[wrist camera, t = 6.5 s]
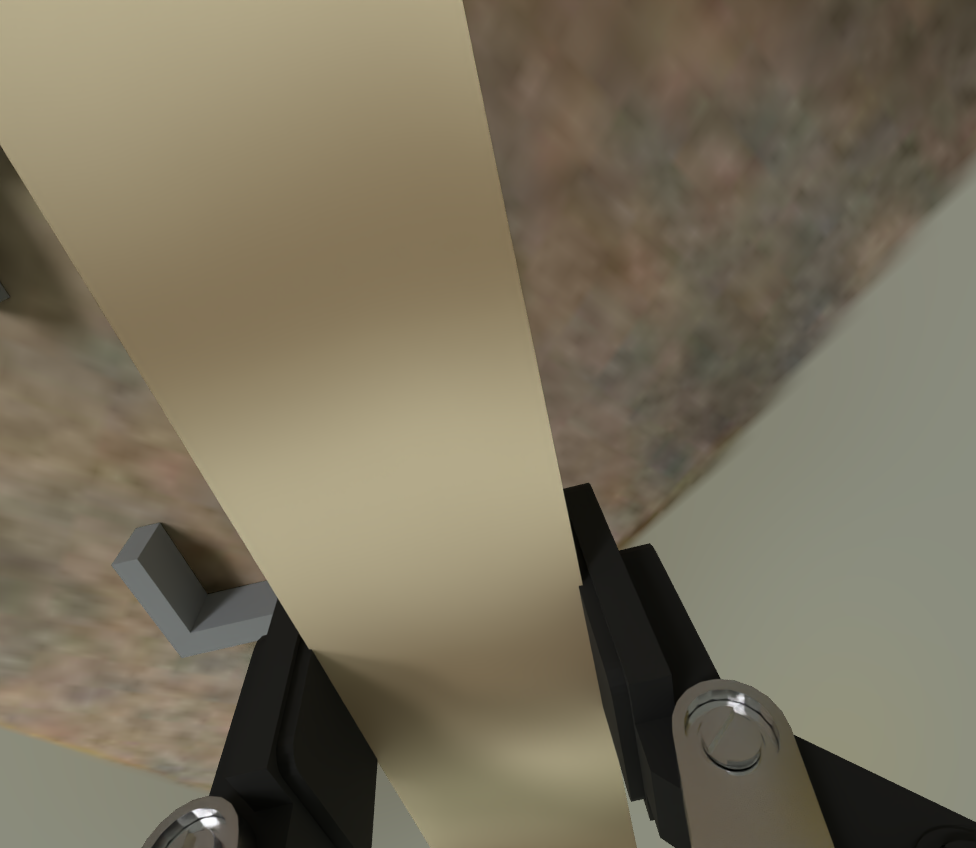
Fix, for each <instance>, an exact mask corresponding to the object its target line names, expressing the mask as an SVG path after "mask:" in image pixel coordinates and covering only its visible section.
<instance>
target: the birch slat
mask: <svg viewBox="0 0 976 848" xmlns="http://www.w3.org/2000/svg"><path fill="white" fill-rule="evenodd" d="M0 145H1V147H2V148H3V150H4V152H5V153H6V155H7V157H8V158H9V160H10V162H11V163H12V165H13V166H14V168H15V170H16V171H17V173H18V175H19V176H20V178H21V180H22V181H23V183H24V184H25V186H26V188H27V189H28V191H29V193H30V194H31V196H32V197H33V199H34V201H35V202H36V204H37V206H38V207H39V209H40V211H41V212H42V214H43V215H44V217H45V219H46V220H47V222H48V224H49V225H50V227H51V229H52V230H53V232H54V233H55V235H56V237H57V238H58V240H59V242H60V243H61V245H62V246H63V248H64V250H65V251H66V253H67V255H68V256H69V258H70V260H71V261H72V263H73V264H74V266H75V268H76V269H77V271H78V273H79V274H80V276H81V278H82V279H83V281H84V282H85V284H86V286H87V287H88V289H89V291H90V292H91V294H92V295H93V297H94V299H95V300H96V302H97V304H98V305H99V307H100V309H101V310H102V312H103V313H104V315H105V317H106V318H107V320H108V322H109V323H110V325H111V327H112V328H113V330H114V331H115V333H116V335H117V336H118V338H119V340H120V341H121V343H122V345H123V346H124V348H125V349H126V351H127V353H128V354H129V356H130V358H131V359H132V361H133V362H134V364H135V366H136V367H137V369H138V371H139V372H140V374H141V376H142V377H143V379H144V380H145V382H146V384H147V385H148V387H149V389H150V390H151V392H152V394H153V395H154V397H155V398H156V400H157V402H158V403H159V405H160V407H161V408H162V410H163V411H164V413H165V415H166V416H167V418H168V420H169V421H170V423H171V425H172V426H173V428H174V429H175V431H176V433H177V434H178V436H179V438H180V439H181V441H182V443H183V444H184V446H185V447H186V449H187V451H188V452H189V454H190V456H191V457H192V459H193V460H194V462H195V464H196V465H197V467H198V469H199V470H200V472H201V474H202V475H203V477H204V478H205V480H206V482H207V483H208V485H209V487H210V488H211V490H212V492H213V493H214V495H215V496H216V498H217V500H218V501H219V503H220V505H221V506H222V508H223V509H224V511H225V513H226V514H227V516H228V518H229V519H230V521H231V523H232V524H233V526H234V527H235V529H236V531H237V532H238V534H239V536H240V537H241V539H242V541H243V542H244V544H245V545H246V547H247V549H248V550H249V552H250V554H251V555H252V557H253V558H254V560H255V562H256V563H257V565H258V567H259V568H260V570H261V572H262V573H263V575H264V576H265V578H266V580H267V581H268V583H269V585H270V586H271V588H272V590H273V591H274V593H275V594H276V596H277V598H278V599H279V601H280V603H281V604H282V606H283V607H284V609H285V611H286V612H287V614H288V616H289V617H290V619H291V621H292V622H293V624H294V625H295V627H296V629H297V630H298V632H299V634H300V635H301V637H302V639H303V640H304V642H305V643H306V645H307V647H308V648H309V650H310V649H312V650H313V652H314V654H315V655H316V657H317V659H318V660H319V662H320V664H321V665H322V667H323V669H324V670H325V672H326V674H327V675H328V677H329V679H330V680H331V682H332V684H333V685H334V687H335V689H336V691H337V692H338V694H339V696H340V697H341V699H342V701H343V702H344V704H345V706H346V707H347V709H348V711H349V712H350V714H351V716H352V717H353V719H354V721H355V722H356V724H357V726H358V727H359V729H360V731H361V732H362V734H363V736H364V737H365V739H366V741H367V742H368V744H369V746H370V747H371V749H372V751H373V752H374V754H375V756H376V757H377V759H378V760H377V761H378V763H379V764H380V766H381V768H382V769H383V771H384V772H385V774H386V776H387V777H388V779H389V781H390V782H391V784H392V785H393V787H394V789H395V790H396V792H397V794H398V795H399V797H400V799H401V800H402V802H403V803H404V805H405V807H406V808H407V810H408V812H409V813H410V815H411V816H412V818H413V820H414V821H415V823H416V825H417V826H418V828H419V829H420V831H421V833H422V835H423V836H424V838H425V839H426V841H427V843H428V844H429V846H430V848H637V847H636V842H635V837H634V832H633V827H632V822H631V818H630V813H629V808H628V803H627V798H626V793H625V788H624V783H623V779H622V774H621V769H620V764H619V760H618V757H617V753H616V750H615V747H614V743H613V740H612V736H611V733H610V730H609V726H608V723H607V719H606V716H605V712H604V709H603V705H602V700H601V695H600V690H599V685H598V680H597V675H596V670H595V665H594V660H593V655H592V651H591V646H590V641H589V636H588V631H587V626H586V621H585V616H584V611H583V606H582V601H581V596H580V591H579V586H580V585H583V584H582V579H581V575H580V570H579V565H578V560H577V555H576V550H575V545H574V541H573V536H572V531H571V526H570V521H569V516H568V511H567V507H566V502H565V497H564V492H563V487H562V482H561V477H560V473H559V468H558V463H557V458H556V453H555V448H554V443H553V439H552V434H551V429H550V424H549V419H548V414H547V409H546V405H545V400H544V395H543V390H542V385H541V380H540V375H539V371H538V366H537V361H536V356H535V351H534V346H533V341H532V337H531V332H530V327H529V322H528V317H527V312H526V307H525V303H524V298H523V293H522V288H521V283H520V278H519V273H518V269H517V264H516V259H515V254H514V249H513V244H512V239H511V235H510V230H509V225H508V220H507V215H506V210H505V205H504V201H503V196H502V191H501V186H500V181H499V176H498V171H497V167H496V162H495V157H494V152H493V147H492V142H491V137H490V133H489V128H488V123H487V118H486V113H485V108H484V103H483V99H482V94H481V89H480V84H479V79H478V74H477V69H476V65H475V60H474V55H473V50H472V45H471V40H470V35H469V31H468V26H467V21H466V16H465V11H464V6H463V1H462V0H0Z"/></svg>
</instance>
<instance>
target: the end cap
mask: <svg viewBox="0 0 976 848" xmlns="http://www.w3.org/2000/svg"><path fill="white" fill-rule="evenodd" d="M112 567H113V568H114V569H115V571H116V572H117V573H118V575H119V576H120V577H121V579H122V580H123V581H124V583H125V584H126V585H127V587H128V588H129V589H130V591H131V592H132V593H133V594H134V596H135V597H136V598H137V600H138V601H139V602H140V604H141V605H142V606H143V608H144V609H145V610H146V612H147V613H148V614H149V616H150V617H151V618H152V619H153V621H154V622H155V623H156V625H157V626H158V627H159V629H160V630H161V631H162V633H163V634H164V635H165V637H166V638H167V639H168V641H169V642H170V643H171V644H172V646H173V647H174V648H175V650H176V651H177V652H178V654H179V655H180V656H181V658H184V657H188V656H192V655H197V654H201V653H205V652H210V651H214V650H219V649H223V648H227V647H232V646H236V645H240V644H245V643H249V642H254V641H258V640H259V639H260V638H261V637H262V636H264V635H267V633H268V629H269V626H270V622H271V619H272V615H273V612H274V608H275V605H276V602H277V596H276V594H275V593H274V591H273V590H272V588H271V586H270V585H269V583H268V581H263V582H259V583H255V584H250V585H246V586H242V587H237V588H233V589H229V590H224V591H220V592H216V593H211V594H207V593H206V591H205V590H204V588H203V587H202V585H201V584H200V582H199V581H198V579H197V578H196V576H195V575H194V573H193V572H192V570H191V569H190V567H189V566H188V564H187V563H186V561H185V560H184V558H183V557H182V555H181V554H180V552H179V551H178V549H177V548H176V546H175V545H174V543H173V542H172V540H171V539H170V537H169V536H168V534H167V533H166V531H165V530H164V528H163V527H162V525H161V524H160V523H156V524H152V525H148V526H144V527H139V528H136V529H135V530H134V532H133V533H132V535H131V536H130V538H129V539H128V541H127V542H126V544H125V545H124V547H123V548H122V550H121V551H120V553H119V554H118V556H117V557H116V559H115V560H114V562H113V563H112Z"/></svg>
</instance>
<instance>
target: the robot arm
mask: <svg viewBox="0 0 976 848" xmlns="http://www.w3.org/2000/svg"><path fill="white" fill-rule="evenodd" d="M563 492H564V497H565V502H566V507H567V511H568V516H569V521H570V526H571V531H572V536H573V541H574V545H575V550H576V555H577V560H578V565H579V570H580V575H581V579H582V584H583V585H580V586H579V591H580V596H581V601H582V606H583V611H584V616H585V621H586V626H587V631H588V636H589V641H590V646H591V651H592V655H593V660H594V665H595V670H596V675H597V680H598V685H599V690H600V695H601V700H602V705H603V709H604V712H605V716H606V719H607V723H608V726H609V730H610V733H611V736H612V740H613V743H614V747H615V750H616V753H617V757H618V760H619V764H620V767H621V770H622V774H623V777H624V781H625V784H626V788H627V791H628V794H629V797H630V800H631V802H632V801H636V800H640V799H644V802H645V805H646V808H647V811H648V814H649V818H650V820H655V823H656V825H657V829H658V832H659V835H660V838H662V839H663V840H665V841H666V842H668V843H669V844H671V845H672V846H674V847H675V848H976V822H974V821H972V820H970V819H968V818H966V817H964V816H962V815H960V814H958V813H956V812H953V811H951V810H949V809H947V808H945V807H943V806H941V805H939V804H937V803H935V802H933V801H931V800H928V799H926V798H924V797H922V796H920V795H918V794H916V793H914V792H912V791H910V790H908V789H906V788H903V787H901V786H899V785H897V784H895V783H893V782H891V781H889V780H887V779H885V778H883V777H881V776H878V775H876V774H874V773H872V772H870V771H868V770H866V769H864V768H862V767H860V766H858V765H856V764H854V763H851V762H849V761H847V760H845V759H843V758H841V757H839V756H837V755H835V754H833V753H831V752H829V751H827V750H824V749H822V748H820V747H818V746H816V745H814V744H812V743H810V742H808V741H806V740H804V739H801V738H799V737H797V736H795V735H793V732H792V729H791V727H790V725H789V723H788V722H787V720H786V718H785V716H784V714H783V712H782V711H781V710H780V709H779V708H778V707H777V706H776V704H775V703H774V702H773V701H772V700H771V699H770V698H769V697H768V696H766V695H765V694H763V693H761V692H759V691H758V690H757V689H755V688H754V687H752V686H749V685H746V684H743V683H740V682H737V681H735V680H723V679H720V677H719V675H718V673H717V671H716V669H715V667H714V665H713V663H712V661H711V659H710V657H709V655H708V653H707V651H706V649H705V647H704V645H703V643H702V641H701V639H700V637H699V635H698V634H697V631H696V629H695V628H694V626H693V624H692V622H691V620H690V618H689V616H688V614H687V612H686V610H685V608H684V606H683V604H682V602H681V600H680V598H679V596H678V594H677V592H676V590H675V588H674V586H673V584H672V582H671V580H670V578H669V576H668V574H667V572H666V570H665V568H664V567H663V565H662V563H661V561H660V559H659V557H658V555H657V553H656V551H655V550H654V548H653V546H652V545H651V544H650V543H649V544H645V545H641V546H637V547H632V548H628V549H624V550H620V551H619V550H618V548H617V546H616V543H615V541H614V539H613V536H612V534H611V532H610V529H609V527H608V524H607V522H606V520H605V517H604V515H603V513H602V510H601V508H600V506H599V503H598V501H597V499H596V496H595V494H594V492H593V489H592V487H591V485H590V484H589V483H586V484H582V485H577V486H573V487H569V488H565V489H563ZM377 760H378V759H377V757H376V756H375V754H374V752H373V751H372V749H371V747H370V746H369V744H368V742H367V741H366V739H365V737H364V736H363V734H362V732H361V731H360V729H359V727H358V726H357V724H356V722H355V721H354V719H353V717H352V716H351V714H350V712H349V711H348V709H347V707H346V706H345V704H344V702H343V701H342V699H341V697H340V696H339V694H338V692H337V691H336V689H335V687H334V685H333V684H332V682H331V680H330V679H329V677H328V675H327V674H326V672H325V670H324V669H323V667H322V665H321V664H320V662H319V660H318V659H317V657H316V655H315V654H314V652H313V650H312V649H310V650H309V648H308V647H307V645H306V643H305V642H304V640H303V639H302V637H301V635H300V634H299V632H298V630H297V629H296V627H295V625H294V624H293V622H292V621H291V619H290V617H289V616H288V614H287V612H286V611H285V609H284V607H283V606H282V604H281V603H280V601H279V599H278V598H277V602H276V605H275V608H274V612H273V615H272V619H271V622H270V626H269V629H268V633H267V635H264V636H262V637H261V638H260V639H259V640H258V641H257V643H256V646H255V648H254V651H253V654H252V657H251V660H250V664H249V667H248V670H247V674H246V677H245V680H244V683H243V687H242V690H241V693H240V696H239V700H238V703H237V706H236V709H235V713H234V716H233V719H232V723H231V726H230V729H229V732H228V736H227V739H226V742H225V745H224V749H223V752H222V755H221V758H220V762H219V765H218V768H217V772H216V775H215V778H214V781H213V785H212V788H211V791H210V794H209V796H206V797H202V798H198V799H195V800H192V801H190V802H188V803H187V804H185V805H183V806H181V807H179V808H178V809H176V810H175V811H174V812H173V813H171V814H170V815H169V816H168V817H167V818H166V819H164V820H163V821H162V822H161V823H160V824H159V825H158V827H157V828H156V829H155V830H154V831H153V833H152V834H151V835H150V836H149V837H148V838H147V840H146V841H145V843H144V845H143V847H142V848H371V847H372V833H373V818H374V804H375V803H374V802H375V789H376V775H377Z"/></svg>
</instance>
